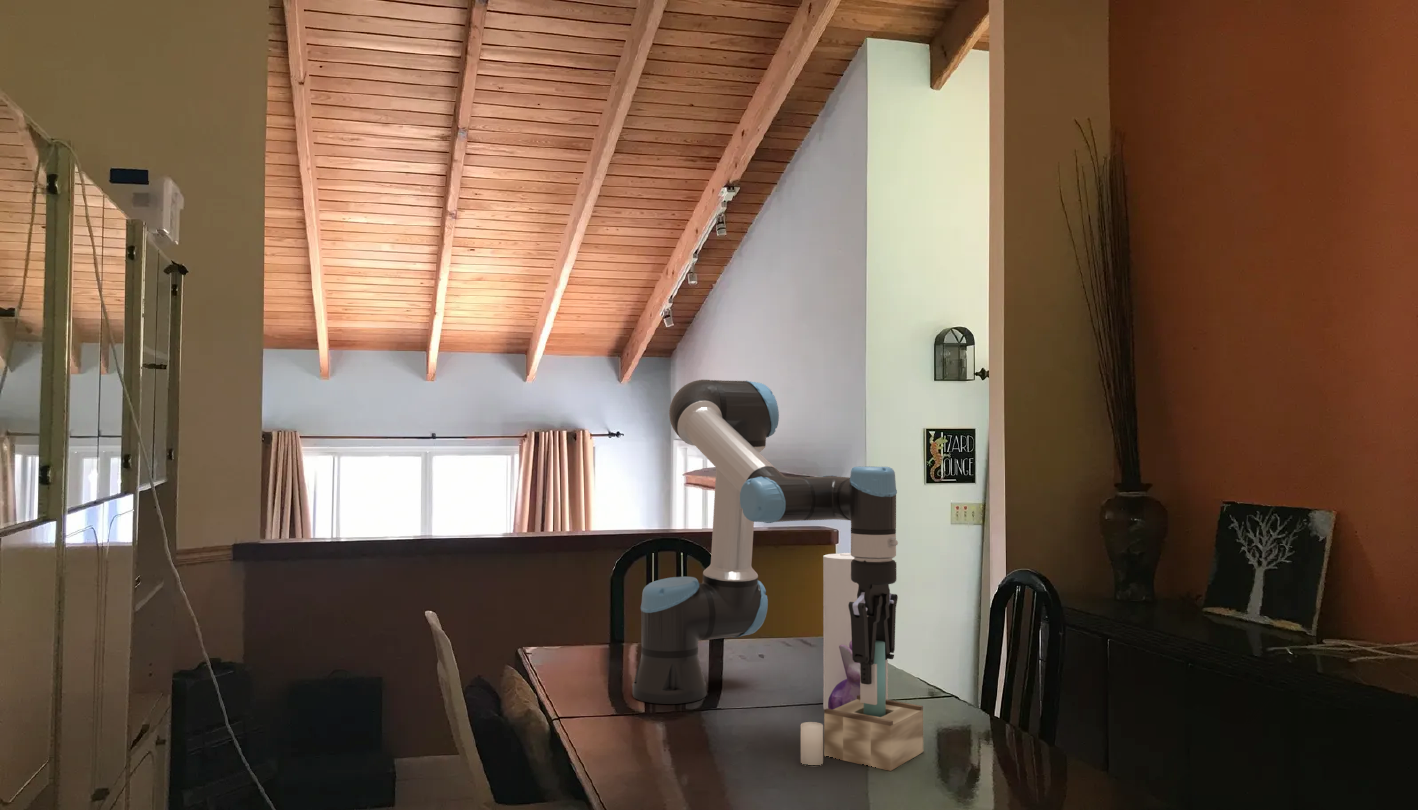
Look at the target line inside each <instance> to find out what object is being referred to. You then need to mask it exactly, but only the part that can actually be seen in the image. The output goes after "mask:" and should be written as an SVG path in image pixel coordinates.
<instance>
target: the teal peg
mask: <svg viewBox="0 0 1418 810" xmlns="http://www.w3.org/2000/svg"><path fill="white" fill-rule="evenodd" d="M874 664H877V704H876V705H872V704H867V703H864V714H866V715H871V716H877V717H882V716H884V715H886V698H885V642H883V641H877V640H876V642H875V656H874Z"/></svg>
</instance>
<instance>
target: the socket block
mask: <svg viewBox="0 0 1418 810" xmlns="http://www.w3.org/2000/svg"><path fill="white" fill-rule="evenodd" d="M823 711H824V712H823V714H824V715H823V717H824V718H823V722H824V723H823V724H824V725H823V757H826V756H829V757H828V758H830V757H833V758H832V759H835V758H836V759H835V760H839V759H840V761H844V762H849V763H853V764H858V765H862V764H864V765H863V766H866V765H868V767H871V766H872V767H871V768H875V767H876V768H875V769H880V770H885V771H889V772H891V771H893V770H895V769H896V768H898V767H901V766H902V765H904V764H905V763H907V762H908V761H910V760H912V759H913V758H915V757H918V756H919V755H920V754H922V753H924V706H923V705H918V704H914V703H909V702H908V703H907V702H902V701H895V700H890V699H887V700H886V715H884V716H882V717H877V716H871V715H866V714H864V703H861V702H860V695H857V699H856V700H854V701H852V702H849V703H847V704H845V705H842V706H840V707H838V708H835V709H833V710H832V709H824V708H823Z"/></svg>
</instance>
